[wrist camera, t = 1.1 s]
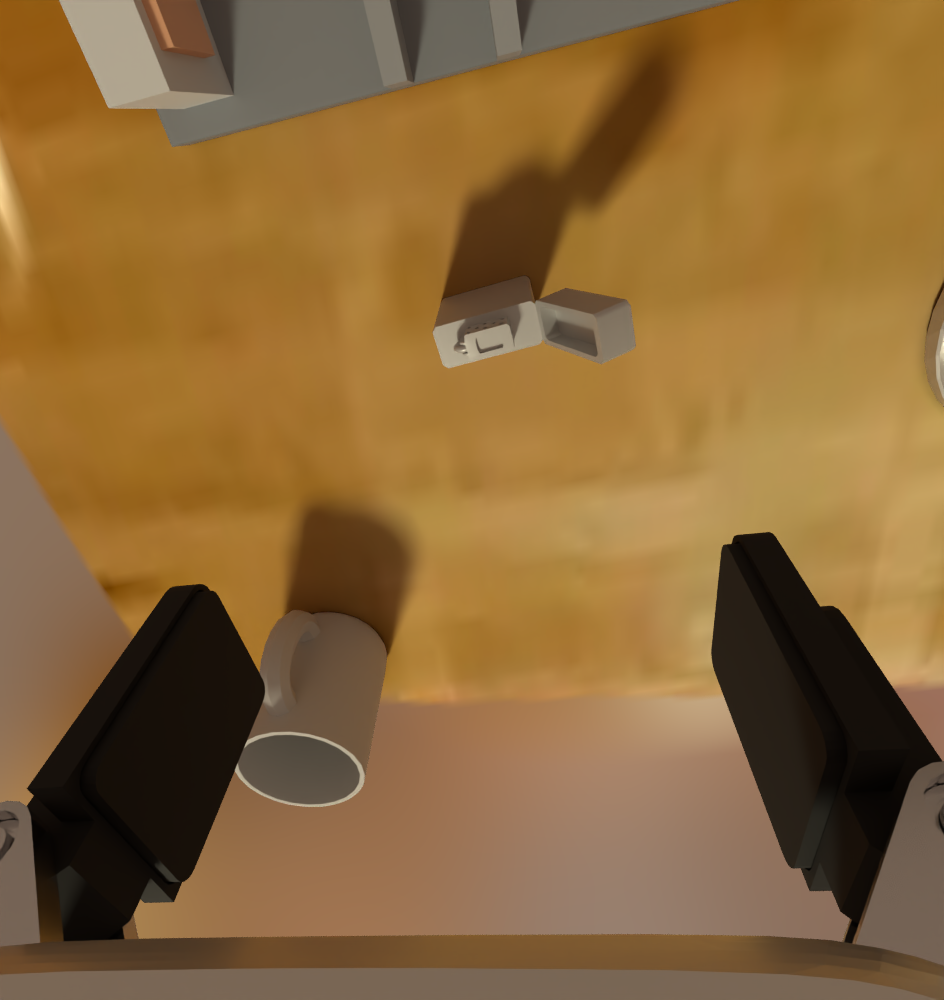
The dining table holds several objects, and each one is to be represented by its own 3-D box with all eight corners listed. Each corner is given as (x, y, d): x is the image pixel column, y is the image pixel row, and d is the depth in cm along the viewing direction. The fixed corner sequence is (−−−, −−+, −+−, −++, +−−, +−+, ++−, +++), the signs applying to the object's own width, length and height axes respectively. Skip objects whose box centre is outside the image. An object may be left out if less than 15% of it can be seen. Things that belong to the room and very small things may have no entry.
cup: (306, 688, 42) (266, 812, 34) (245, 586, 36) (183, 707, 29) (401, 675, 41) (381, 800, 33) (354, 568, 35) (317, 689, 28)
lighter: (450, 336, 27) (437, 407, 21) (439, 299, 26) (421, 361, 20) (602, 294, 26) (640, 356, 19) (595, 254, 25) (633, 305, 18)
